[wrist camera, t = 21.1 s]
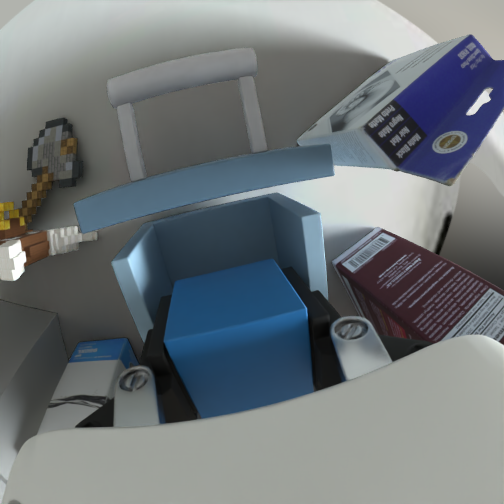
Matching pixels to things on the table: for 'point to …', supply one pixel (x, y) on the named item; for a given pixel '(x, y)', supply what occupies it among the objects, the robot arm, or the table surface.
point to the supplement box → (417, 291)
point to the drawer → (206, 194)
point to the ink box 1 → (87, 382)
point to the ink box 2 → (417, 113)
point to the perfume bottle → (26, 376)
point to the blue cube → (239, 339)
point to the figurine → (46, 170)
